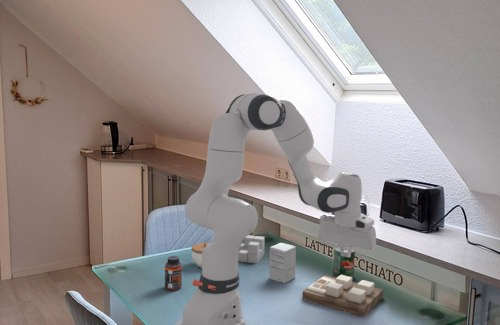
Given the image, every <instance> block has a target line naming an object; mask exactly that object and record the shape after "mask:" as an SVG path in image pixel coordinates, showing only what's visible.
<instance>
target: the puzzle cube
mask: <svg viewBox="0 0 500 325" xmlns="http://www.w3.org/2000/svg"><path fill="white" fill-rule="evenodd" d="M265 238H266V236H259V235H251V234H249V235H248V236H246V237H245V238H244V242H242V243H241V246H240V249H239V255H238V262H242V263H248V264H249V263H251V264H258V262H259V261H260V260H261V259H262V258H263V256H264V255H265V241H266V240H265Z"/></svg>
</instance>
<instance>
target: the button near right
mask: <svg viewBox="0 0 500 325" xmlns="http://www.w3.org/2000/svg"><path fill="white" fill-rule="evenodd" d="M365 297H366V290H362V289H358V288H354V287H353V288H352V289H351V290H350V291H348V300H349V301H352V302H356V303H360V304H361V303H362V302H363V301H365Z"/></svg>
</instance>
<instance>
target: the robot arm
mask: <svg viewBox="0 0 500 325" xmlns="http://www.w3.org/2000/svg"><path fill="white" fill-rule="evenodd" d="M211 124H212V125H211V127H210V132H209V137H208V143H207V144H208V145H207V154H206V164H205V173H204V176H203V178H202V181H201V184H200V186H199V187H198V189H197V190H196V191H195V192H194V193H193V194H191V195H190V196H189V198H187V201H186V204H185V215H186V217H187V218H188V220H189V221H191V222H192V223H193V224H195V225H197V226H199V227H201V228H204V229H205V228H206V229H208V230H212V231H213V233H214V235H213V239H212V242H208V243H209V244H208V245H207V246H206V247H205V248H204V249H203V252H202V268H201V272H200V277H199V279H196V278H194V279H193V281H192V286H194V287H197V289H196V291H194V293H193V295H192V296H191V298H190V299H189V300H188V302H186V304H185V305H184V307H183V311H182V317H181V318H180V319H179V320H177V321H176V322H175V323H174V325H246V321H245V319H244V316H243V309H242V297H241V294H240V291H239V286H240V273H239V272H238V271H239V269H238V268H239V249H240V246H241V243H243V241H245V237H246V236H248V235H251V234H252V232H254V231H255V230H256V227H257V225H258V221H259V220H258V219H259V218H258V216H259V215H258V211H257V209H256V207H255V206H254V205H253V204H250V203H249V202H247V201H245V200H243V199H241V198H235V197H232V196H228V195H229V191H230V188H231V186H232V185H233V184H235V183H236V182H239V180H240V179H241V178H242V176H243V171H244V170H243V169H244V158H245V145H246V143H245V142H246V138H247V136H248V134H249V132H250V131H269V130H271V132H272V133H273V135H274V137H275V139H276V141H277V143H278V145H279V147H280V149H281V150H282V152H283V153H284V156H285V157H286V159H287V160H286V161H287V162H288V164H289V167H290V169H291V171H292V173H293V176H294V177H295V178H294V179H295V180H296V183H297V189H298V190H297V191H298V196H299V198H300V201H301V202H302V203H303V204H304V205H306V206H310V207H312V208H314V209H317V210H318V211H320V212H322V213H327V214H323V215H321V216H320V217H319V227H318V228H319V230H318V239H319V240H320V241H326V242H329V243H335V244H338V245H337V246H338V247H339V249H340V251H341V256H344V257H350V256H351V251H352V250H353V248H354V249H355V248H359V249H364V250H367V251H371V250H374V248H375V247H376V246H377V233H376V232H377V231H376V228H375V227H374V225H375V220H374V219H373V218H372V217H370V216H367V215H366V214H364V213H362V208H361V201H362V194H363V192H362V191H363V189H362V179H361V177H360V176H359V175H358V174H356V173H353V172H350V171H339V172H338V173H337V175H336V176H334V177H333V178H331V179H330V180H328V181H323V180H321V179H319V178H318V177H317V176H316V175H315V173H314V172H313V169H312V167H311V164H310V163H309V160H308V157H307V155H308V154H309V153H310V152H311V151H312V149H313V146H314V144H315V139H314V136H313V133H312V130H311V128H310V125H309V124H308V122H307V121H306V119H305V117H304V115H303V114H302V112H301V111H300V109H299V108H298V106H297V105H296V104H295V103H294V101H292V100H291V99H288V98H287V99H286V98H284V99H279V100H278V99H277V98H275V97H274V96H272V95H269V94H265V93H263V94H260V93H248V94H246V93H245V94H240V95H237V96H236V97H235V98H233V100H231V102H230V103H229V106H228V108H227V109H226V112H224V113H220V114H218V115H217V116H215V117H214V119H213V121H212V123H211ZM330 213H331V214H332V213H334V215H329V214H330ZM343 246H348V248H350V249H349V251H346V250H345V249H344V247H343Z"/></svg>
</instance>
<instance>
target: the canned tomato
mask: <svg viewBox="0 0 500 325" xmlns="http://www.w3.org/2000/svg"><path fill="white" fill-rule="evenodd" d="M343 247H344V249H345V250H346V251H349V249H350V248H348V245H344V246H343ZM333 250H334V252H333V270H332V273H333V274H332V277H335V278H337V277H338V276H340V275H344V276H349V277H352V280H353V279H354V278H353V277H355V276H354V275H355V258H356V257H355V255H356V249H355V247H354V248H353V250H352V251H351V256H350V257H344V256H341V251H340V249H339V247H338V245H337V246H334V248H333Z"/></svg>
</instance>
